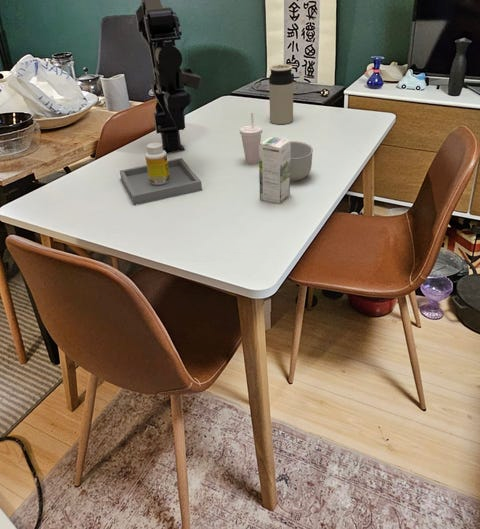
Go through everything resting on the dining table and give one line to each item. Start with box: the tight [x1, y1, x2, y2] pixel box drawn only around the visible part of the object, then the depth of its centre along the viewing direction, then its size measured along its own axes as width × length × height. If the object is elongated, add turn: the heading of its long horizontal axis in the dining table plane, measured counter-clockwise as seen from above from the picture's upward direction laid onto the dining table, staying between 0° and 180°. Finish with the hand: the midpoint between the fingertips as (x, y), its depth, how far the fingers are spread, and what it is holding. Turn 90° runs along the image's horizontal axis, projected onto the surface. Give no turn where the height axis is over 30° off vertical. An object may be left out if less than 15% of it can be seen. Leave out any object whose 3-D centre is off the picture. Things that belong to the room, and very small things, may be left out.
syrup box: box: [258, 136, 292, 205], centre depth 118 cm, size 6×6×14 cm
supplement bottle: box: [144, 141, 170, 185], centre depth 130 cm, size 6×6×10 cm
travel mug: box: [268, 63, 294, 125], centre depth 166 cm, size 8×8×18 cm
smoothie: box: [239, 112, 263, 165], centre depth 138 cm, size 6×6×14 cm
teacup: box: [290, 140, 314, 182], centre depth 130 cm, size 14×11×8 cm
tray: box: [119, 157, 203, 206], centre depth 132 cm, size 18×18×2 cm
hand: (174, 123), depth 134 cm, fingers open, 9 cm apart
